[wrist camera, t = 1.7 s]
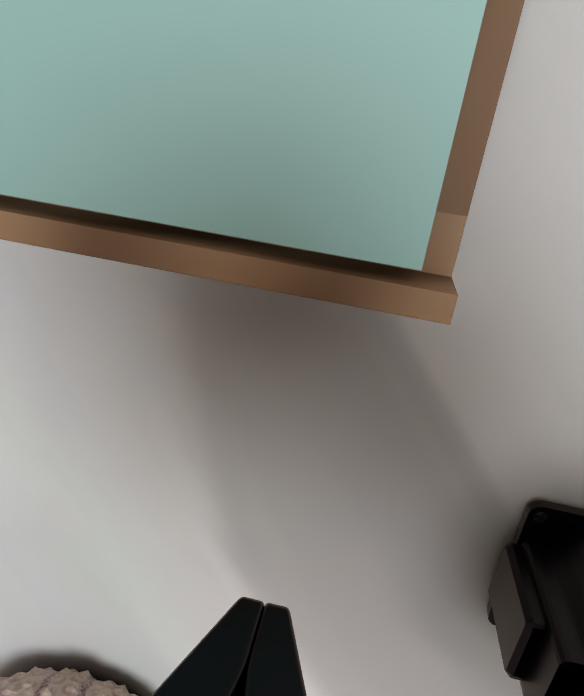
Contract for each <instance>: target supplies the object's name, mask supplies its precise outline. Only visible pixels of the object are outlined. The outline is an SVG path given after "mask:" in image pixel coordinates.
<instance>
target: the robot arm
mask: <svg viewBox="0 0 584 696" xmlns="http://www.w3.org/2000/svg"><path fill="white" fill-rule="evenodd" d="M538 512H544V514H543V515H541V516H535V514H536V513H538ZM489 595H490V602H489V605H488V607H487V614H488V619H489V621H490V622H491V623H492V624H493V625H495V626H496V629H497V634H498V639H499V644H500V649H501V654H502V659H503V664H504V669H505V671H506V672H507V674H508V675H509V677H510V678H514V679H518V680H520V683H521V688H522V692H523V696H584V510H582V509H578V508H573V507H568V506H564V505H559V504H555V503H550V502H545V501H533V502H531V503H530V504H528V505H527V507H526V509H525V511H524V514H523V516H522V519H521V522H520V524H519V527H518V529H517V532H516V534H515V537H514V540H513V542H512V543H509V544H508V545H506V546H505V547H504V550H503V553H502V555H501V558H500V560H499V563H498V566H497V568H496V571H495V574H494V576H493V579H492V581H491V584H490V587H489ZM151 696H306V691H305V686H304V681H303V676H302V670H301V665H300V660H299V655H298V650H297V645H296V640H295V635H294V630H293V625H292V620H291V615H290V611H289V609H288V608H287V607H284V606H280V605H275V604H271V603H267V604H266V605H265V606H264V603H263V602H262V601H259V600H255V599H251V598H247V597H242V598H240V599H239V600H237V602H236V603H235V604H234V605H233V606H232V607H231V608H230V609H229V610H228V611H227V613H226V614H225V615H224V616H223V617H222V618H221V619H220V620H219V621H218V623H217V624H216V625H215V626H214V627H213V628H212V629H211V630H210V631H209V632H208V634H207V635H206V636H205V637H204V638H203V639H202V640H201V641H200V642H199V644H198V645H197V646H196V647H195V648H194V649H193V650H192V651H191V652H190V653H189V655H188V656H187V657H186V658H185V659H184V660H183V661H182V662H181V663H180V665H179V666H178V667H177V668H176V669H175V670H174V671H173V672H172V673H171V674H170V676H169V677H168V678H167V679H166V680H165V681H164V682H163V683H162V684H161V686H160V687H159V688H158V689H157V690H156V691H155V692H154V693H153V694H152V695H151Z"/></svg>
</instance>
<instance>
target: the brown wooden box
mask: <svg viewBox="0 0 584 696" xmlns="http://www.w3.org/2000/svg"><path fill="white" fill-rule="evenodd" d="M523 4H524V0H487V3H486V7H485V11H484V15H483V19H482V23H481V27H480V31H479V36H478V40H477V44H476V48H475V52H474V56H473V60H472V64H471V69H470V73H469V77H468V81H467V85H466V89H465V93H464V97H463V102H462V106H461V110H460V114H459V118H458V122H457V126H456V130H455V135H454V139H453V143H452V147H451V151H450V155H449V159H448V163H447V168H446V172H445V176H444V180H443V184H442V188H441V192H440V196H439V201H438V205H437V209H436V213H435V217H434V221H433V225H432V229H431V234H430V238H429V242H428V246H427V250H426V254H425V258H424V262H423V267H422V271H420V270H414V269H409V268H404V267H398V266H393V265H387V264H382V263H376V262H371V261H365V260H360V259H354V258H349V257H343V256H338V255H332V254H327V253H321V252H316V251H310V250H305V249H299V248H294V247H288V246H283V245H277V244H272V243H266V242H261V241H255V240H250V239H244V238H239V237H233V236H228V235H222V234H217V233H211V232H206V231H200V230H195V229H189V228H184V227H178V226H173V225H167V224H162V223H156V222H151V221H145V220H140V219H134V218H129V217H123V216H118V215H112V214H107V213H101V212H96V211H90V210H85V209H79V208H74V207H68V206H63V205H57V204H52V203H46V202H41V201H35V200H30V199H24V198H19V197H13V196H8V195H2V194H0V239H3V240H8V241H13V242H18V243H24V244H29V245H34V246H39V247H45V248H50V249H55V250H60V251H66V252H71V253H76V254H81V255H87V256H92V257H97V258H102V259H108V260H113V261H118V262H123V263H129V264H134V265H139V266H144V267H150V268H155V269H160V270H165V271H171V272H176V273H181V274H186V275H192V276H197V277H202V278H207V279H213V280H218V281H223V282H228V283H234V284H239V285H244V286H249V287H255V288H260V289H265V290H270V291H276V292H281V293H286V294H291V295H297V296H302V297H307V298H312V299H318V300H323V301H328V302H333V303H339V304H344V305H349V306H354V307H360V308H365V309H370V310H375V311H380V312H386V313H391V314H396V315H401V316H407V317H412V318H417V319H422V320H428V321H433V322H438V323H443V324H449V325H450V322H451V319H452V315H453V311H454V308H455V304H456V300H457V297H458V294H457V292H456V289H455V286H454V284H453V281H452V278H451V276H452V272H453V268H454V264H455V261H456V257H457V253H458V249H459V245H460V242H461V238H462V234H463V230H464V227H465V223H466V219H467V215H468V212H469V208H470V204H471V200H472V196H473V193H474V189H475V185H476V181H477V178H478V174H479V170H480V166H481V163H482V159H483V155H484V151H485V147H486V144H487V140H488V136H489V132H490V129H491V125H492V121H493V117H494V114H495V110H496V106H497V102H498V98H499V95H500V91H501V87H502V83H503V80H504V76H505V72H506V68H507V65H508V61H509V57H510V53H511V49H512V46H513V42H514V38H515V34H516V31H517V27H518V23H519V19H520V16H521V12H522V8H523Z"/></svg>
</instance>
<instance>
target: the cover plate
mask: <svg viewBox="0 0 584 696" xmlns="http://www.w3.org/2000/svg"><path fill="white" fill-rule="evenodd" d="M486 3H487V0H0V194H2V195H8V196H13V197H19V198H24V199H30V200H35V201H41V202H46V203H52V204H57V205H63V206H68V207H74V208H79V209H85V210H90V211H96V212H101V213H107V214H112V215H118V216H123V217H129V218H134V219H140V220H145V221H151V222H156V223H162V224H167V225H173V226H178V227H184V228H189V229H195V230H200V231H206V232H211V233H217V234H222V235H228V236H233V237H239V238H244V239H250V240H255V241H261V242H266V243H272V244H277V245H283V246H288V247H294V248H299V249H305V250H310V251H316V252H321V253H327V254H332V255H338V256H343V257H349V258H354V259H360V260H365V261H371V262H376V263H382V264H387V265H393V266H398V267H404V268H409V269H414V270H420V271H422V267H423V262H424V258H425V254H426V250H427V246H428V242H429V238H430V234H431V229H432V225H433V221H434V217H435V213H436V209H437V205H438V201H439V196H440V192H441V188H442V184H443V180H444V176H445V172H446V168H447V163H448V159H449V155H450V151H451V147H452V143H453V139H454V135H455V130H456V126H457V122H458V118H459V114H460V110H461V106H462V102H463V97H464V93H465V89H466V85H467V81H468V77H469V73H470V69H471V64H472V60H473V56H474V52H475V48H476V44H477V40H478V36H479V31H480V27H481V23H482V19H483V15H484V11H485V7H486Z"/></svg>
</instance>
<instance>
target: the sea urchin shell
mask: <svg viewBox="0 0 584 696" xmlns="http://www.w3.org/2000/svg"><path fill="white" fill-rule="evenodd" d="M0 696H138V695H136V694H129V692H128V690H127V688H126V686H125V685H117V684H116V683H115V682H114V681H110V680H109V681H99V680H96V679H94V678H93V677H92V675H91V674H90V673H89V671H88V670H87V671H83V672H77V671H76V670H75V669H70V670H69V669H68V668H65V669H63V670H61V671H59V672H58V671H55V670H53V669H52V667H49V668H45V669H42V668H37V667H36V666H35V667H34V668H32V669H31V670H30V671H29V672H27V673H25V672H18V673H16V674H14V675H12V676H11V677H0Z"/></svg>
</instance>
